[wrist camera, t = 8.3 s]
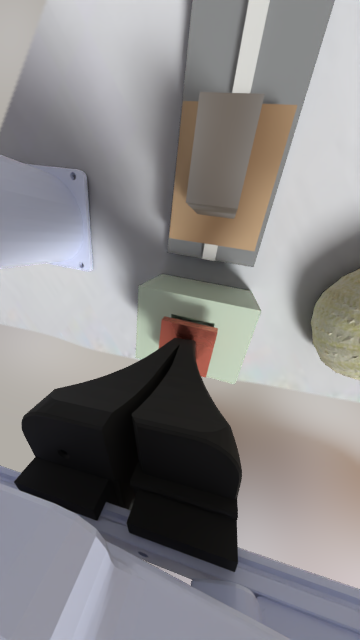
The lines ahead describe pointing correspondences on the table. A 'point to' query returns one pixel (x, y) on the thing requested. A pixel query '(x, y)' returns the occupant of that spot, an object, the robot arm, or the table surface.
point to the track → (251, 72)
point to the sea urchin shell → (339, 326)
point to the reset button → (191, 338)
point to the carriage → (227, 167)
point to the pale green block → (199, 318)
